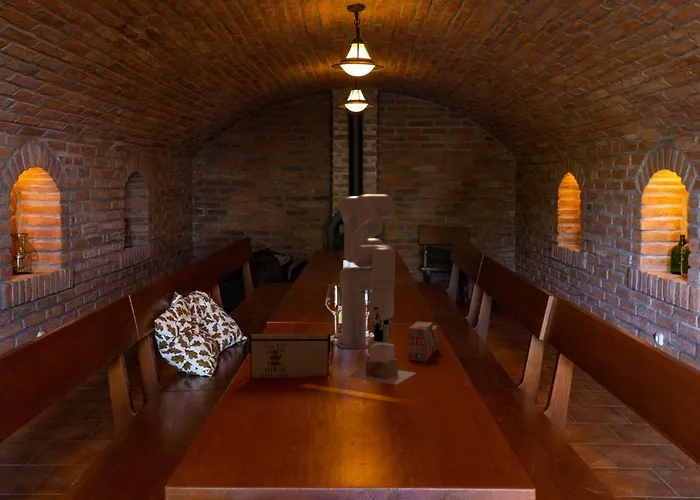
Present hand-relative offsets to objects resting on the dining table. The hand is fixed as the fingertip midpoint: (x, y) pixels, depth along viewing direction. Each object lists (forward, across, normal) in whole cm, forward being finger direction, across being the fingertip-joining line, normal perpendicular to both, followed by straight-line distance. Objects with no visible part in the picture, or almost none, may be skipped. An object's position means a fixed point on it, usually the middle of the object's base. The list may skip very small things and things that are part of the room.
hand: (382, 339), depth 243 cm
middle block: (+7, 0, 0) cm, 7 cm away
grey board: (+13, 0, 0) cm, 13 cm away
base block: (+12, 0, 0) cm, 12 cm away
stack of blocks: (+13, -38, -1) cm, 40 cm away
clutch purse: (+14, +13, -28) cm, 34 cm away
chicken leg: (+13, -21, -11) cm, 27 cm away
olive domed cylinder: (0, 0, 0) cm, 0 cm away
